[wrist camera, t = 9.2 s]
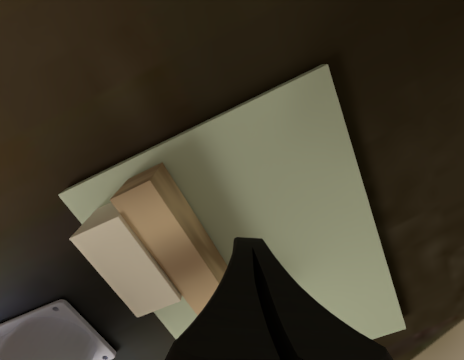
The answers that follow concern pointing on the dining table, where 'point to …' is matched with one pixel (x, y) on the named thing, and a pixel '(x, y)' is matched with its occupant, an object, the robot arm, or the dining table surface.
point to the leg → (171, 234)
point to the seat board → (275, 198)
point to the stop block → (124, 262)
